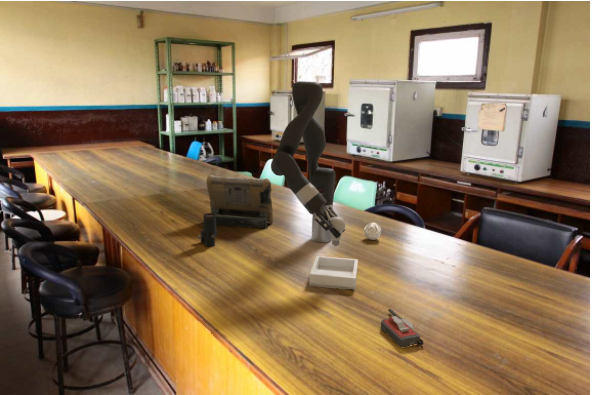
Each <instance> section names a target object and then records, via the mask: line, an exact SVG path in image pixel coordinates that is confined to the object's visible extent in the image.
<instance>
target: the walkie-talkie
mask: <svg viewBox="0 0 592 395" xmlns="http://www.w3.org/2000/svg"><path fill="white" fill-rule="evenodd" d="M388 312H389V313H390V314H391V315H392V316H390V317H389V318H383V319H381V321H380V329H381V331H383V333H385V332H386V333H387V334H388V335H389V336H390V337H391V338H392V339H393V340H394V341H395V342H396V343H397V344H398V345H399V346H400V347H399V346H398V345H397V344H396V343H395V342H394V341H393V340H392V339H391V338H390V337H389V336H388V335H387V334H386V333H385V334H386V335H387V336H388V337H389V338H390V339H391V340H392V341H393V342H394V343H395V344H396V345H397V346H398V347H399V348H401V347H405V348H408V347H407V346H410V345H414V344H419V345H418V346H423V345H424V344H425V343H424V340H423V339H421V335H420V334H419V333H417V332H416V331H415V329H414V324H412V322H410V321H409V320H408V319H407V318H403V317H401V316H400V315H398V313H396V312H395V311H394V310H393V309H391V308H388Z"/></svg>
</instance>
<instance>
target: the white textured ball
mask: <svg viewBox="0 0 592 395" xmlns="http://www.w3.org/2000/svg"><path fill="white" fill-rule="evenodd" d="M381 233H382V228H381V226H380V225H379V224H378V223H376V222H370V223H368V224H366V226H365V227H364V229H363V234H364V236H365V237H366V239H368V240H370V241H371V240H372V241H375V240H377V239H379V238H380V236H381Z"/></svg>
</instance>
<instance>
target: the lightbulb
mask: <svg viewBox="0 0 592 395" xmlns="http://www.w3.org/2000/svg"><path fill="white" fill-rule="evenodd" d="M331 219H332V224H333V225H334V228H335V229H336V230H338V231H339V232H340V234H341V236H340V237H338V238H335V237H334V235H333V234H332V233H331V236H332V239H331V244H332V246H334V247H337V246H339V245H340V240H341V237H342V234H343V233H344V232H345V231H344V229H345V230H346V223H345V220H344V219H343V218H342V217H341V216H338V217H333V218H331ZM329 224H330V223H329ZM343 231H344V232H343ZM342 232H343V233H342Z"/></svg>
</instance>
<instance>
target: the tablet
mask: <svg viewBox="0 0 592 395" xmlns="http://www.w3.org/2000/svg"><path fill="white" fill-rule="evenodd" d="M206 187H207V192H208V196H209V207H210V213H214V214H216V218H215V219H216V226H224V227H225V226H227V227H236V228H237V227H238V228H249V229H250V228H253V229H268V224H269V225H270V226H271V225H273V223H274V210H273V200H272V196H271V193H272V182H271V180H270V179H269V178H251V177H249V178H248V177H238V176H237V177H235V176H234V177H233V176H219V175H213V174H209V175H208V176H207V178H206Z"/></svg>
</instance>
